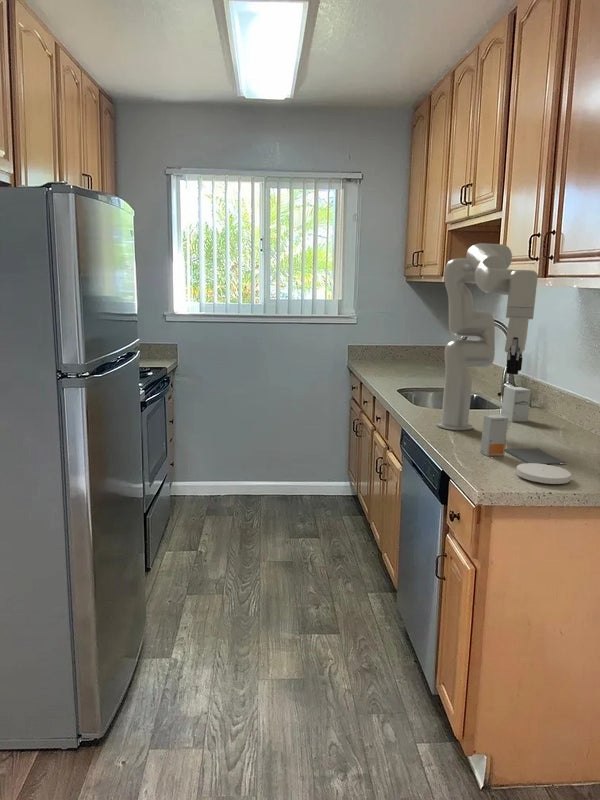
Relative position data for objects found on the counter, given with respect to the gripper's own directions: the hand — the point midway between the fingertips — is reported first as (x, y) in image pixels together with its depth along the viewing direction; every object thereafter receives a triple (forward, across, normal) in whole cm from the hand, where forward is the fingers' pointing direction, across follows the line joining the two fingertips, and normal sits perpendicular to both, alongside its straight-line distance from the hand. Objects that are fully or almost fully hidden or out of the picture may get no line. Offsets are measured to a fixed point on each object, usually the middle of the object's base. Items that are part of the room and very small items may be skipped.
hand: (513, 372), depth 188 cm
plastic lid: (+27, +15, +12) cm, 33 cm away
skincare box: (+27, -4, -4) cm, 27 cm away
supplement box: (+26, -62, -4) cm, 67 cm away
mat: (+26, -7, +8) cm, 28 cm away
